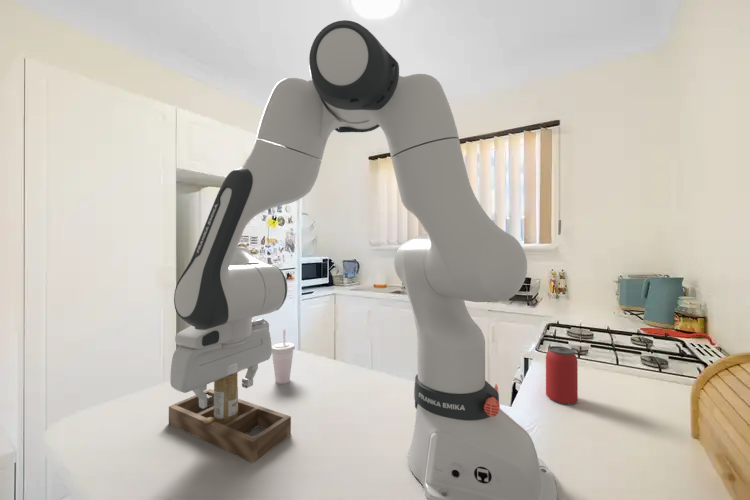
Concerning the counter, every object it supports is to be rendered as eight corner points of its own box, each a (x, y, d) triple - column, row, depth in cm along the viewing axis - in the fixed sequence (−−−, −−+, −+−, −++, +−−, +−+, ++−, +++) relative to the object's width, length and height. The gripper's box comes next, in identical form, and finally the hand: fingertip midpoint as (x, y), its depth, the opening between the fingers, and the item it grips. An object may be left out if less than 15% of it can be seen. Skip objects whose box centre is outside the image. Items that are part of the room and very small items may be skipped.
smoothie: (299, 379, 84) (299, 329, 85) (281, 388, 79) (281, 334, 79) (283, 374, 88) (284, 326, 88) (265, 382, 82) (265, 330, 83)
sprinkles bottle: (240, 430, 60) (240, 363, 60) (215, 439, 57) (215, 368, 57) (235, 420, 64) (235, 356, 64) (211, 428, 61) (211, 361, 61)
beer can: (580, 398, 74) (580, 349, 74) (574, 409, 69) (574, 356, 69) (549, 390, 78) (549, 343, 78) (542, 399, 73) (542, 349, 73)
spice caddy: (290, 434, 59) (290, 414, 59) (250, 464, 51) (250, 441, 51) (209, 404, 71) (210, 387, 71) (166, 424, 62) (166, 405, 62)
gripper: (258, 315, 72) (258, 374, 71) (165, 337, 53) (165, 415, 53) (278, 318, 69) (278, 379, 69) (186, 342, 51) (186, 425, 50)
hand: (227, 395), depth 61 cm, fingers open, 8 cm apart
